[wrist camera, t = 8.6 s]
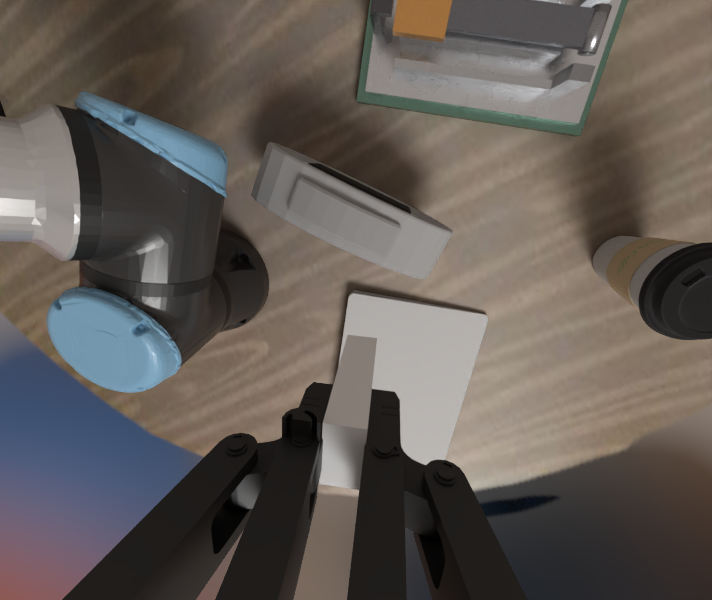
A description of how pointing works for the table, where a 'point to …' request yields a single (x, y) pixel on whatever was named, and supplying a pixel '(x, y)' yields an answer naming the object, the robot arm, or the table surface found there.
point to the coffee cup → (662, 282)
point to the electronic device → (419, 363)
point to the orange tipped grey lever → (505, 21)
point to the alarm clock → (348, 212)
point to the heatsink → (483, 74)
